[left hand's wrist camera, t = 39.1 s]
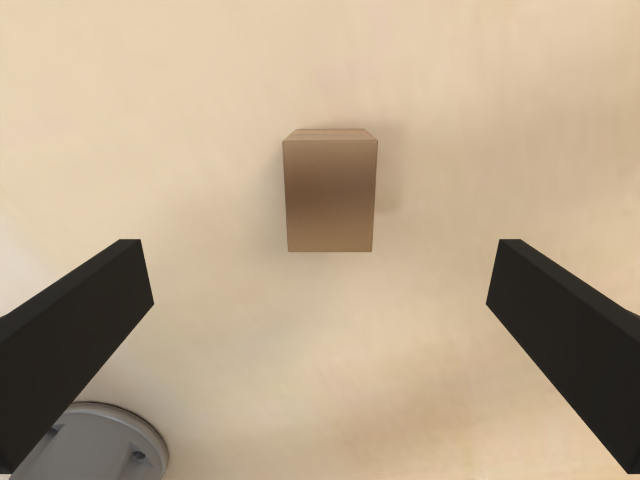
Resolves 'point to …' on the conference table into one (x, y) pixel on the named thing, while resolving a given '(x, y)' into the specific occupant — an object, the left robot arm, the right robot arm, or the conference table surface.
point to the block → (330, 190)
